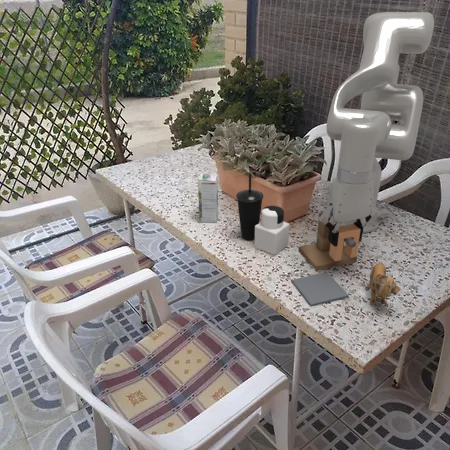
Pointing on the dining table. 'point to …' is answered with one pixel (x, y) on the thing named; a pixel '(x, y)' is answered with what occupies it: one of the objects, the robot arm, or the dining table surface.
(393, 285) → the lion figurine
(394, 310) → the dining table surface
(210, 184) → the syrup box
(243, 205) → the drinking cup
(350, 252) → the c link
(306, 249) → the stand
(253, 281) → the dining table surface
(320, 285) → the slate mat
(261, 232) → the medicine bottle
